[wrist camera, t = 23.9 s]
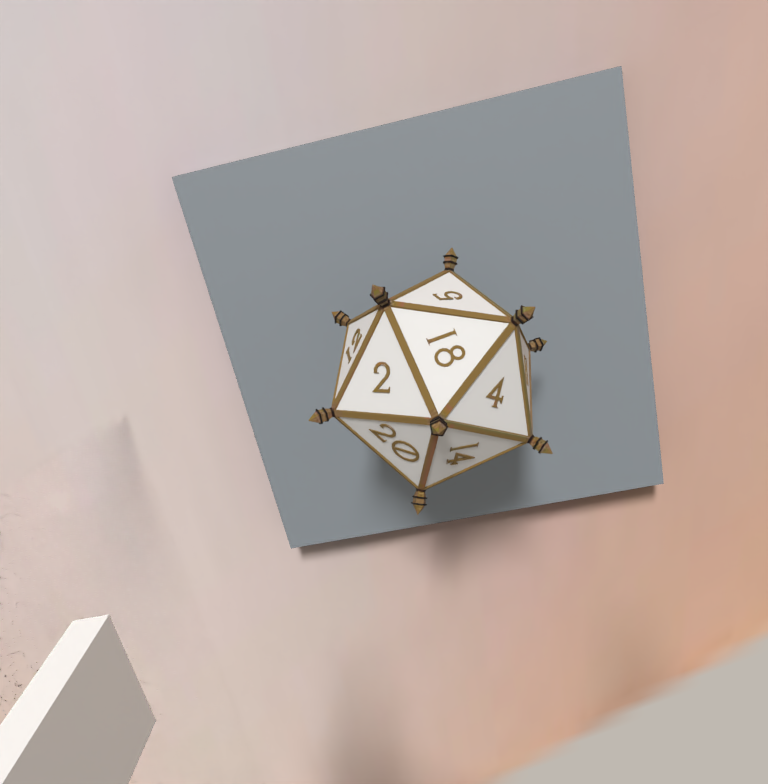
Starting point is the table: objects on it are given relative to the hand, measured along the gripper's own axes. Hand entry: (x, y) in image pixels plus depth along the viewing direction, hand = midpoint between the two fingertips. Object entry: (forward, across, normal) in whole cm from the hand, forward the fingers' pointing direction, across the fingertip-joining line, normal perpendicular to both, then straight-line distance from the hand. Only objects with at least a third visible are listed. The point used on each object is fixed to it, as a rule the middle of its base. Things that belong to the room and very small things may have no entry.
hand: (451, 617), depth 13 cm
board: (+20, 0, 0) cm, 20 cm away
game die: (+18, 0, 0) cm, 18 cm away
